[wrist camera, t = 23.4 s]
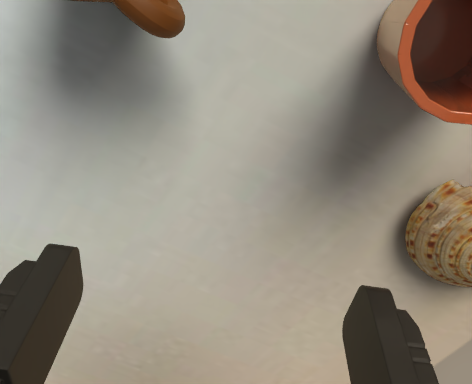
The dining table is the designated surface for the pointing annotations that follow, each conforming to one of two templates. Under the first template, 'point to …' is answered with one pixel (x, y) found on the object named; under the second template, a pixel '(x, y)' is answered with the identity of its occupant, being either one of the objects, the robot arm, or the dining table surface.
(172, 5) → the mug
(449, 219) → the seashell
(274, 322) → the dining table surface
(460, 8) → the cup
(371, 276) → the dining table surface
